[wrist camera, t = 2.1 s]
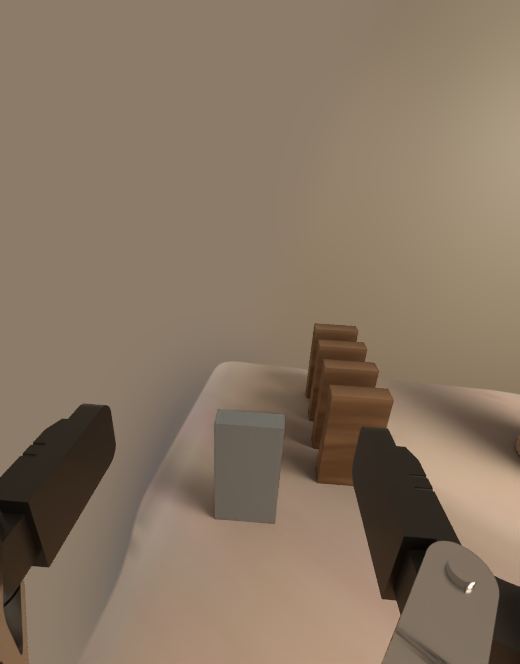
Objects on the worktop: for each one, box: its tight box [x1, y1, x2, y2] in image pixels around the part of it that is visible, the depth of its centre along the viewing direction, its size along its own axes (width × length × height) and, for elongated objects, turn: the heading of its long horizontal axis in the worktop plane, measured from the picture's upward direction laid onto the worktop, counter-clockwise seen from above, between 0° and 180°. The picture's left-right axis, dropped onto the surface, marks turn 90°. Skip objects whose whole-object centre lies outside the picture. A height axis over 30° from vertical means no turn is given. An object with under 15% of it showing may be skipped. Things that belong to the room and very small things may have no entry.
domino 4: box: [312, 359, 379, 449], centre depth 35 cm, size 2×5×10 cm, turn 88°
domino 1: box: [214, 409, 285, 524], centre depth 27 cm, size 2×5×10 cm, turn 88°
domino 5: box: [316, 385, 394, 486], centre depth 30 cm, size 2×5×10 cm, turn 87°
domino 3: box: [308, 339, 367, 421], centre depth 39 cm, size 2×5×10 cm, turn 87°
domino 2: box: [306, 323, 358, 398], centre depth 43 cm, size 2×5×10 cm, turn 88°
